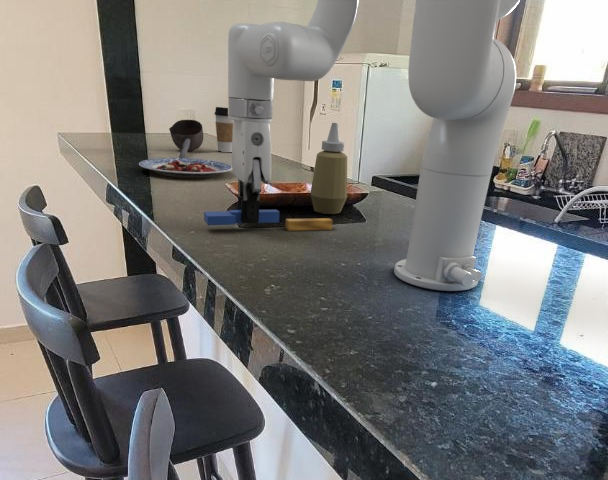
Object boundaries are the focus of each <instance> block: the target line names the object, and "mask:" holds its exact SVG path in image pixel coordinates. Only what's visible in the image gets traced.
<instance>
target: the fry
mask: <svg viewBox="0 0 608 480" xmlns="http://www.w3.org/2000/svg"><path fill="white" fill-rule="evenodd" d="M333 222H334V220H333V219H332V218H330V217H325V218H323V217H321V218H319V217H318V218H315V217H314V218H285V228H284V229H285V230H287V231H290V232H291V231H331V230H333V224H334V223H333Z"/></svg>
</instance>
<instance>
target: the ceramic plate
mask: <svg viewBox="0 0 608 480" xmlns="http://www.w3.org/2000/svg"><path fill="white" fill-rule="evenodd" d="M138 165H139V167H141V168H143V169H146V170H150V171H153V172H155V173H157V174H159V175H161V176H166V177H173V178H184V179H199V178H200V179H202V178H211V177H214V176H217V175H218V174H222V173H227V172H230V171H232V164H230V163H226V162H222V161H216V160H213V159H212V160H211V159H202V158H179V157H164V158H151V159H144V160H141V161H140V162H139V163H138Z"/></svg>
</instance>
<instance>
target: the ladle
mask: <svg viewBox="0 0 608 480" xmlns="http://www.w3.org/2000/svg"><path fill="white" fill-rule="evenodd" d="M168 130H169V134H170V136H171V140H172V142H173V144H174V145H175V146H176V147H177V149H179V150H181V151H180V153H179V156H178V158H187V156H188V152H193V151H196V150H198V149H199V148H200V147H201V146H202V145H203V143H204V130H203V124H202V123H201V122H200V121H198V120H195V119H180V120H177V121H176V122H174V124H172V126H170V127H169V128H168Z"/></svg>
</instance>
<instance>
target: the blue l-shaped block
mask: <svg viewBox="0 0 608 480" xmlns="http://www.w3.org/2000/svg"><path fill="white" fill-rule="evenodd" d="M203 221H204V222H205V224H206V225H207V226H229V225H230V226H231V225H233V226H235V225H236V224H243V223H242V222H241V210H238V209H230V210H224V211H223V210H219V211H218V210H217V211H216V210H215V211H213V210H212V211H203ZM266 223H267V224H268V223H271V224H273V223H280V211H279V210H278V209H259V222H258V223H257V224H266Z"/></svg>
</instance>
